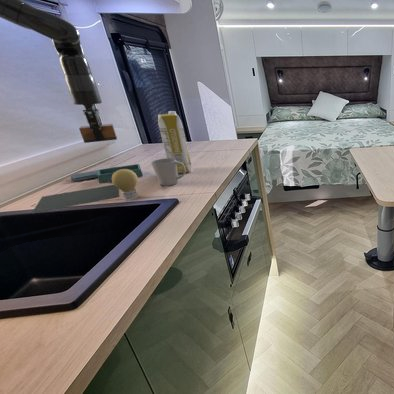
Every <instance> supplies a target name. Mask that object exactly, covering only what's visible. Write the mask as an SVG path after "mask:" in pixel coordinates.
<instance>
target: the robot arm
mask: <svg viewBox="0 0 394 394" xmlns="http://www.w3.org/2000/svg"><path fill="white" fill-rule="evenodd" d="M0 18H1V19H2V20H5V21H7V22H9V23H12V24H14V25H16V26H19V27H21V28H24V29H26V30H30V31H33V32H36V33H38V34H39V35H42V36H44V37H46V38H49V39H51V43H52V45H53V46H54V47H53V48H54V49H55V51H56V54H57V55H58V60H59V65H60V67H61V70H62V72H63V75H64V76H63V77H64V80H65V84H66V87H67V89H68V92H69V95H70V97H71V100H72V103H73V104H74V105H76V106H83V108H84V109H83V110H82V114H83V115H84V116H85V119H86V122H87V124H88V126H90V128H91V129H92V130H93V133H94V136H95V139H96V141H98V142H104V141H103V140H104V137H103V135H102V132H101V127H100V125H102V118H101V116H100V111H99V109H98V108H96V107H95V105H97V104H98V105H99V104H102V103H103V101H102V98H101V95H100V91H99V89H98V86H97V82H96V80H95V78H94V75H93V73H92V71H91V67H90V64H89V61H88V59H87V58H86V57H85V54H84V49H83V46H82V42H81V40H80V39H81V35H80V32H79V30H78V29H77V28H76V26H75V25H74V24H72V23H71V22H69V21H67V20H65V19H63V18H61V17H59V16H58V15H57V16H56V15H54V14H52V13H50V12H47V11H45V10H42V9H39V8H37V7H35V6H34V5H32V4H30V3H28V2H27V1H24V0H0Z"/></svg>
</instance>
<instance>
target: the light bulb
mask: <svg viewBox="0 0 394 394" xmlns="http://www.w3.org/2000/svg"><path fill="white" fill-rule="evenodd" d="M138 181H139V177H137V175H136V174H135V173H134V172H133V171H131V170H128V169H121V170H118V171H116V172H114V173H113V175H112V181H111V183H112V185H115V186H116V187H117V188H119V191H121V194H122V197H123V198H122V199H123V201H133V200H136V199H138V198H139V195H138V192H137V189H136V186H137V184H138Z"/></svg>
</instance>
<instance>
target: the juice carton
mask: <svg viewBox="0 0 394 394" xmlns="http://www.w3.org/2000/svg"><path fill="white" fill-rule="evenodd" d="M157 124H158V128H159V132H160V136H161V140H162V144H163V148H164V152H165V156H166V158H173V159H176V161H179V162H182V163H183V164H184V166H185V169H186V172H185V174H186V173H191V171H192V162H191V157H190V153H189V148H188V143H187V138H186V135H185V130H184V125H183V121H182V120H181V117H180V116H179V114H177V111H174V110H169V111H168V113H161V114H158V115H157ZM177 173H178V175H179V174H180V175H181V174H183V173H184V168H183V166H182V165H181V164H177Z"/></svg>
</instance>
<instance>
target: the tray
mask: <svg viewBox="0 0 394 394" xmlns="http://www.w3.org/2000/svg"><path fill="white" fill-rule="evenodd" d="M113 167H114V168H112V167H106V168H100V169H97V170H98V173H97V177H96V178H97V180H98V183H99V184H104V183H110V182H112V175H113V173H114V172H116V171H118V170H121V169H128V170H131V171H133V172H134V173H135V174H136V175H137V177H138V178H139V177H143V172H142V168H141V165H140V163H135V164H129V165H122V166H113Z"/></svg>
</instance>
